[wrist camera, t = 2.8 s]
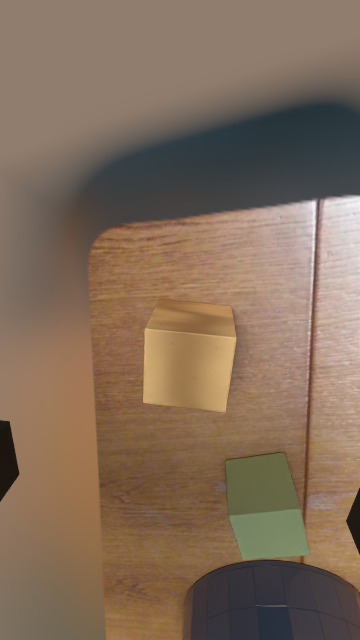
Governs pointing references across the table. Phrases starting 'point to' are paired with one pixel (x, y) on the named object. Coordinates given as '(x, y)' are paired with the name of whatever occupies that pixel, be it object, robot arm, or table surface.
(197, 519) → the table surface
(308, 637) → the navy round tub
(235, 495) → the sage block
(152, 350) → the beech block
